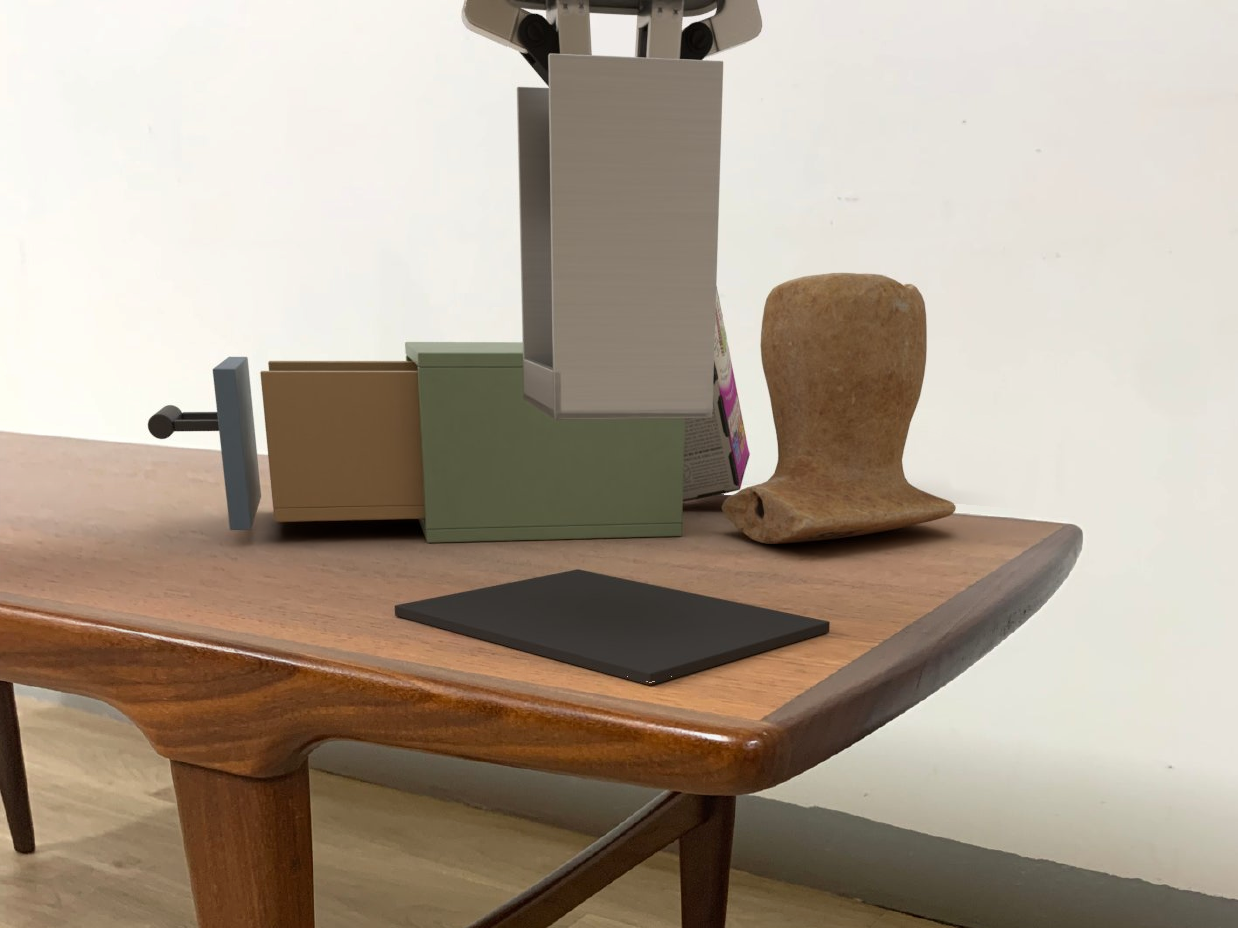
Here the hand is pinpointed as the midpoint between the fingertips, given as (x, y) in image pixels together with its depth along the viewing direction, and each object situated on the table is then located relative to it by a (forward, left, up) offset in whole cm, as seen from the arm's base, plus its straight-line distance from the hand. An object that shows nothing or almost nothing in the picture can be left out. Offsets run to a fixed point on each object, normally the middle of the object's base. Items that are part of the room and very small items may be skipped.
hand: (613, 211), depth 52 cm
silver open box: (0, 0, -8) cm, 8 cm away
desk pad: (0, 0, -17) cm, 17 cm away
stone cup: (+18, +21, -17) cm, 33 cm away
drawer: (-13, +28, -16) cm, 35 cm away
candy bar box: (+14, +35, -16) cm, 41 cm away
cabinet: (+1, +28, -17) cm, 33 cm away
